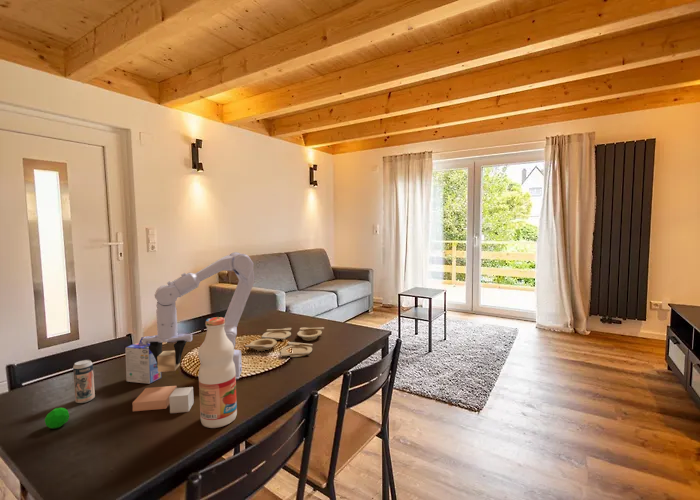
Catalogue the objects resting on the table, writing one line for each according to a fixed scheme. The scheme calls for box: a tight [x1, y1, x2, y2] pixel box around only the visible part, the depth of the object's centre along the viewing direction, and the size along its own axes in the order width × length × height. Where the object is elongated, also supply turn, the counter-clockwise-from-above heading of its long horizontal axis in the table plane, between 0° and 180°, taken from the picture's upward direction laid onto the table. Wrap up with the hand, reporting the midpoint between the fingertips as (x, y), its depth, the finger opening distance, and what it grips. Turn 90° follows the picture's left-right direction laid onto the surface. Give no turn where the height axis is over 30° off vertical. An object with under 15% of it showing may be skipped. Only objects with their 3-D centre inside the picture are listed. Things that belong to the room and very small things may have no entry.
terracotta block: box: [131, 385, 178, 412], centre depth 103 cm, size 9×9×3 cm
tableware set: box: [244, 326, 325, 358], centre depth 153 cm, size 35×29×4 cm
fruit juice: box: [197, 316, 238, 429], centre depth 93 cm, size 9×9×28 cm
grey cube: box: [169, 386, 195, 414], centre depth 99 cm, size 5×5×5 cm
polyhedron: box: [44, 407, 70, 430], centre depth 91 cm, size 5×5×5 cm
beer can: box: [72, 359, 96, 404], centre depth 104 cm, size 5×5×12 cm
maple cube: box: [157, 349, 181, 373], centre depth 111 cm, size 5×5×5 cm
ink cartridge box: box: [125, 336, 162, 385], centre depth 118 cm, size 10×6×14 cm, turn 78°
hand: (169, 363), depth 111 cm, fingers closed on maple cube, 5 cm apart
